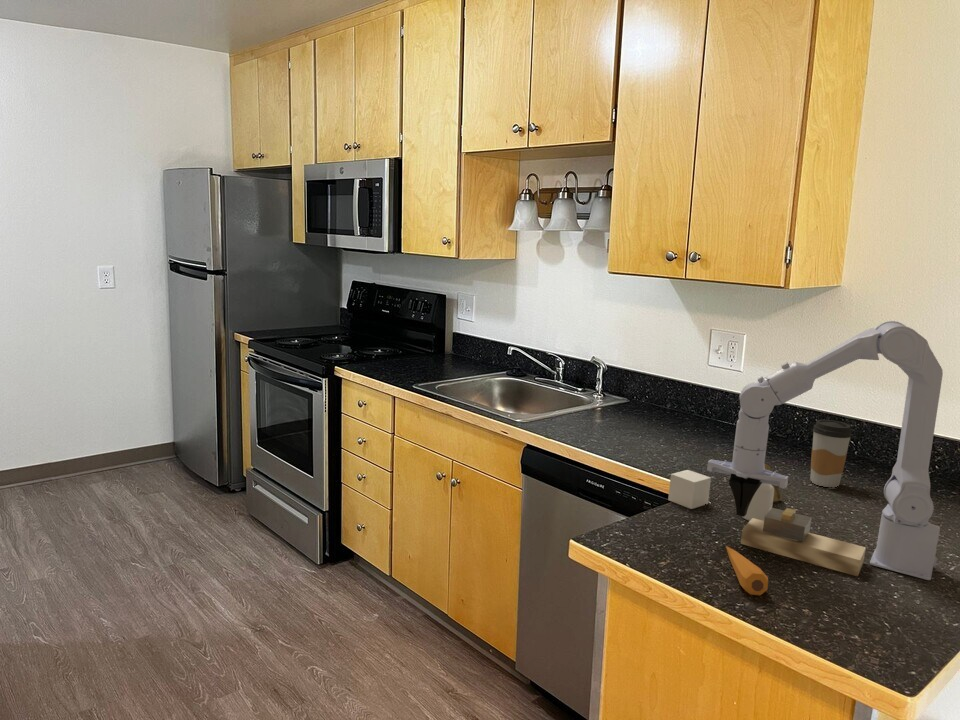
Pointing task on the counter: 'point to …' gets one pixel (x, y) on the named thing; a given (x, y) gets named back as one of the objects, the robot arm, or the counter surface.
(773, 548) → the body
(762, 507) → the eye dropper bottle
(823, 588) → the counter surface
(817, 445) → the coffee cup
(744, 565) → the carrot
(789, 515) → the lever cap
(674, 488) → the white cube
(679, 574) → the counter surface
